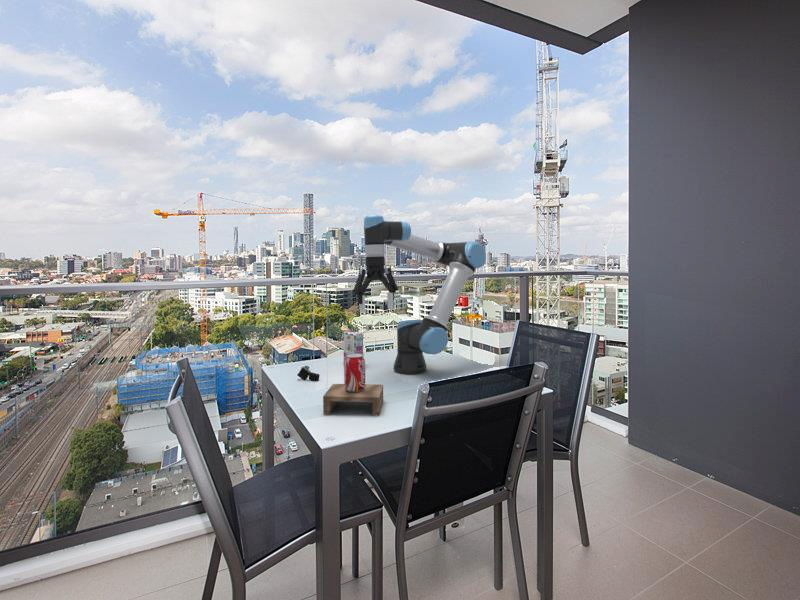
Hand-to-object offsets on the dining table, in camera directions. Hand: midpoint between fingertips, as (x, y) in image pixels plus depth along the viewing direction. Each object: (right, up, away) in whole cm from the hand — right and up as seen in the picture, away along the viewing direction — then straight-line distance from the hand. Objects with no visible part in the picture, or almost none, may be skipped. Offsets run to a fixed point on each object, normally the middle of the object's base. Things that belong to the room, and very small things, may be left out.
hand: (376, 310), depth 159 cm
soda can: (-6, -26, -22) cm, 35 cm away
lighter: (-29, -30, +12) cm, 43 cm away
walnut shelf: (-6, -32, -22) cm, 39 cm away
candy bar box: (-13, -28, +34) cm, 46 cm away
